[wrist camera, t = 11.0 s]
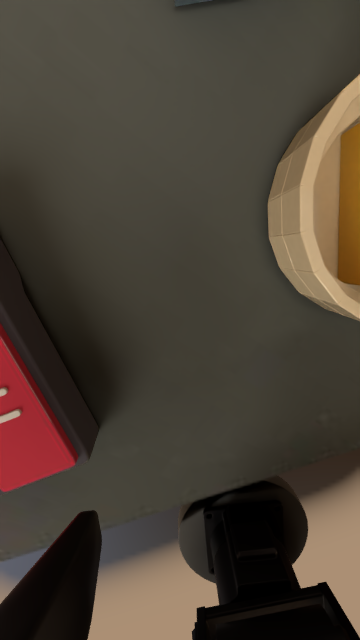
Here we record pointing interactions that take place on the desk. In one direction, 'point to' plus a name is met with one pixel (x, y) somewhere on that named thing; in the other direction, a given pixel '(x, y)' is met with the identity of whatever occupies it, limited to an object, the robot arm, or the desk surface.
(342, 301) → the bowl
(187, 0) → the decorative book
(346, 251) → the block
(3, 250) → the calculator
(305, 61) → the desk surface
